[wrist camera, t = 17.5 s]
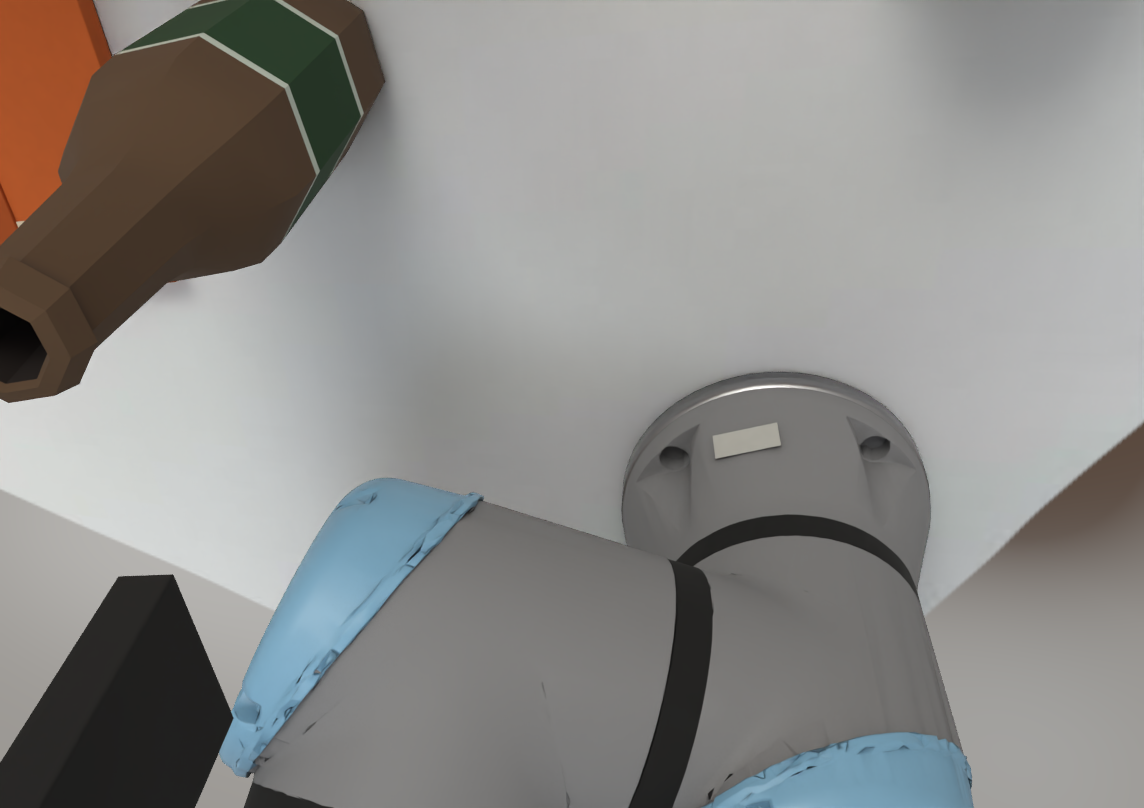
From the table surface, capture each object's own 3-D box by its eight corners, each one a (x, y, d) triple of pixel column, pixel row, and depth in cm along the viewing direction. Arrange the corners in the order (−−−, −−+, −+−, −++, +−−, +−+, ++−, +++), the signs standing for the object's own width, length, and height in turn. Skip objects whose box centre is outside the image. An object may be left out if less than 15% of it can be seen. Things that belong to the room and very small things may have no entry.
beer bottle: (167, 35, 45) (-240, 304, 25) (302, -80, 42) (-37, 122, 22) (294, 183, 48) (22, 526, 28) (427, 86, 45) (229, 392, 25)
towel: (186, 270, 51) (174, 284, 50) (30, 282, 52) (15, 296, 51) (20, -211, 41) (1, -208, 39) (-172, -184, 42) (-196, -180, 40)
